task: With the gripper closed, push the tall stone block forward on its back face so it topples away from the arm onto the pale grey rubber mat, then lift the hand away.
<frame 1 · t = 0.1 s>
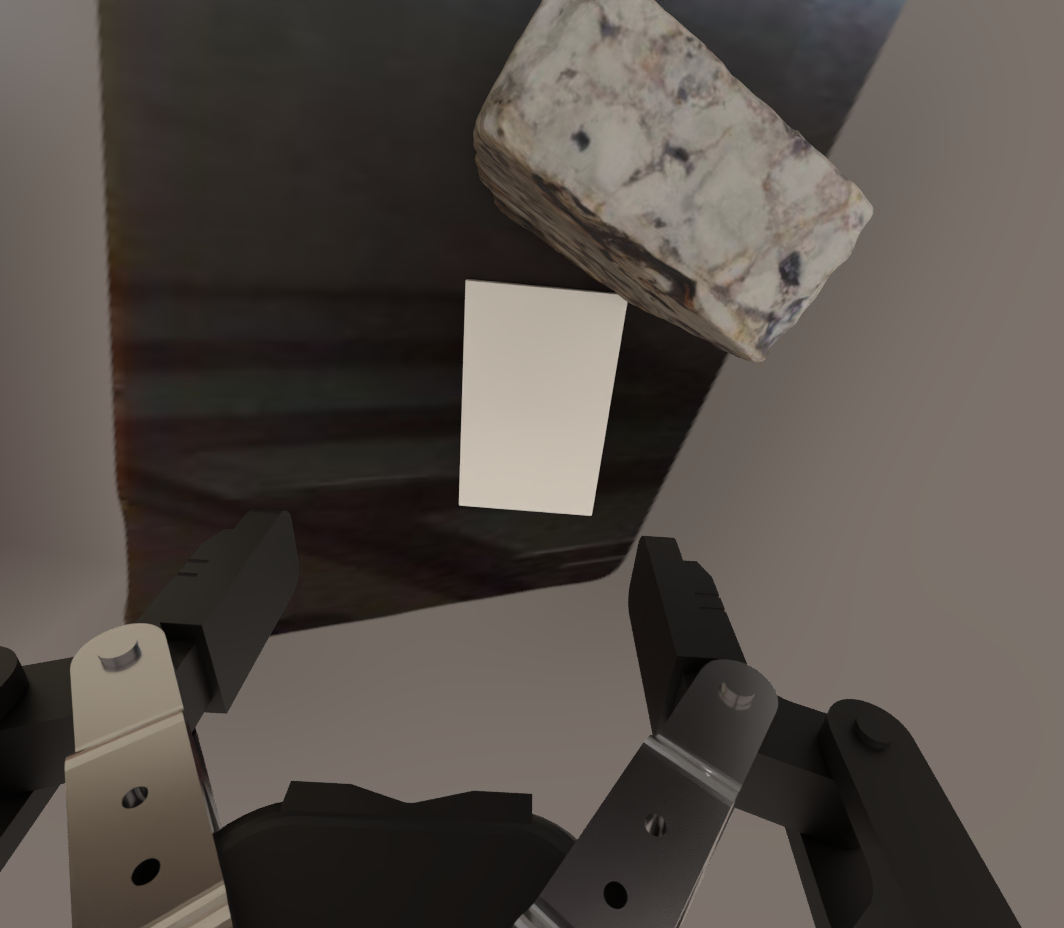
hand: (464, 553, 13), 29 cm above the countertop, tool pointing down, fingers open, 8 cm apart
stone block: (578, 217, 36), on the countertop
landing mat: (535, 407, 43), on the countertop
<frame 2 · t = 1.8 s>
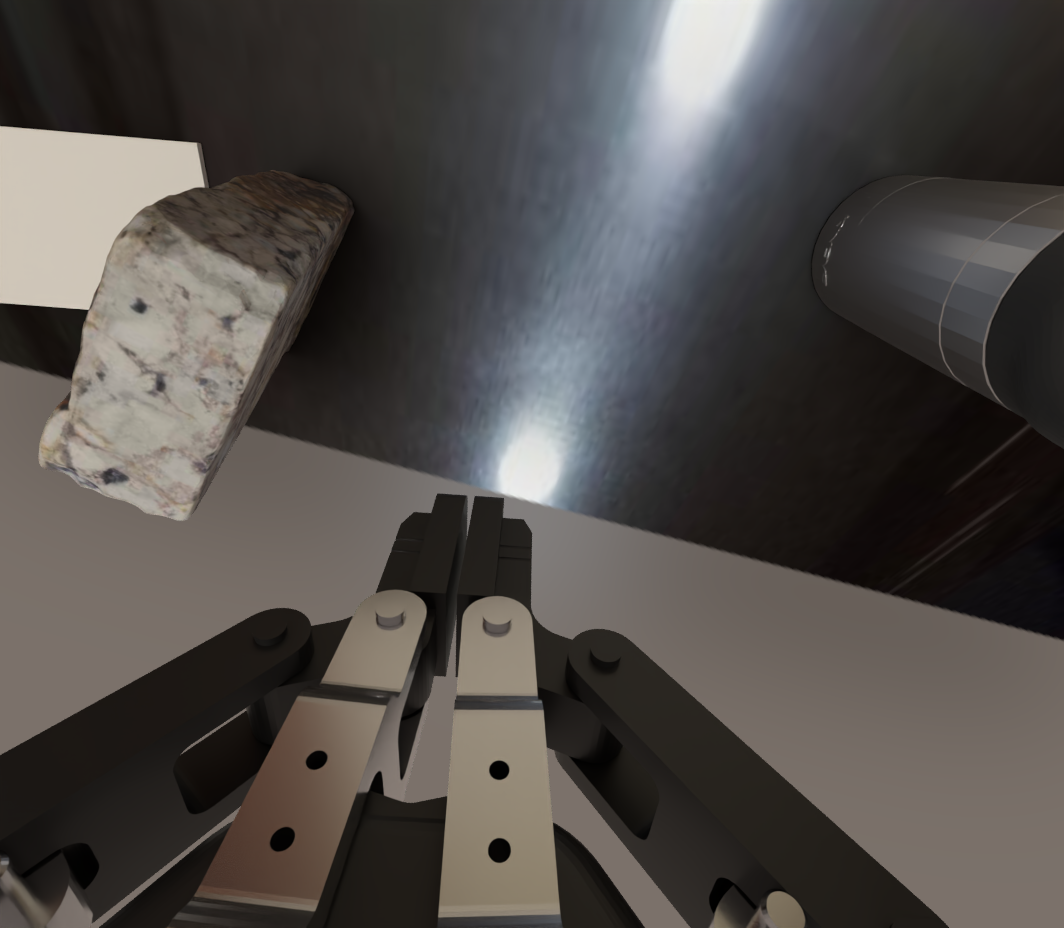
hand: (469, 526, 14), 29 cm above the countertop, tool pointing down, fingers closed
stone block: (287, 265, 39), on the countertop, touching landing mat
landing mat: (81, 226, 38), on the countertop
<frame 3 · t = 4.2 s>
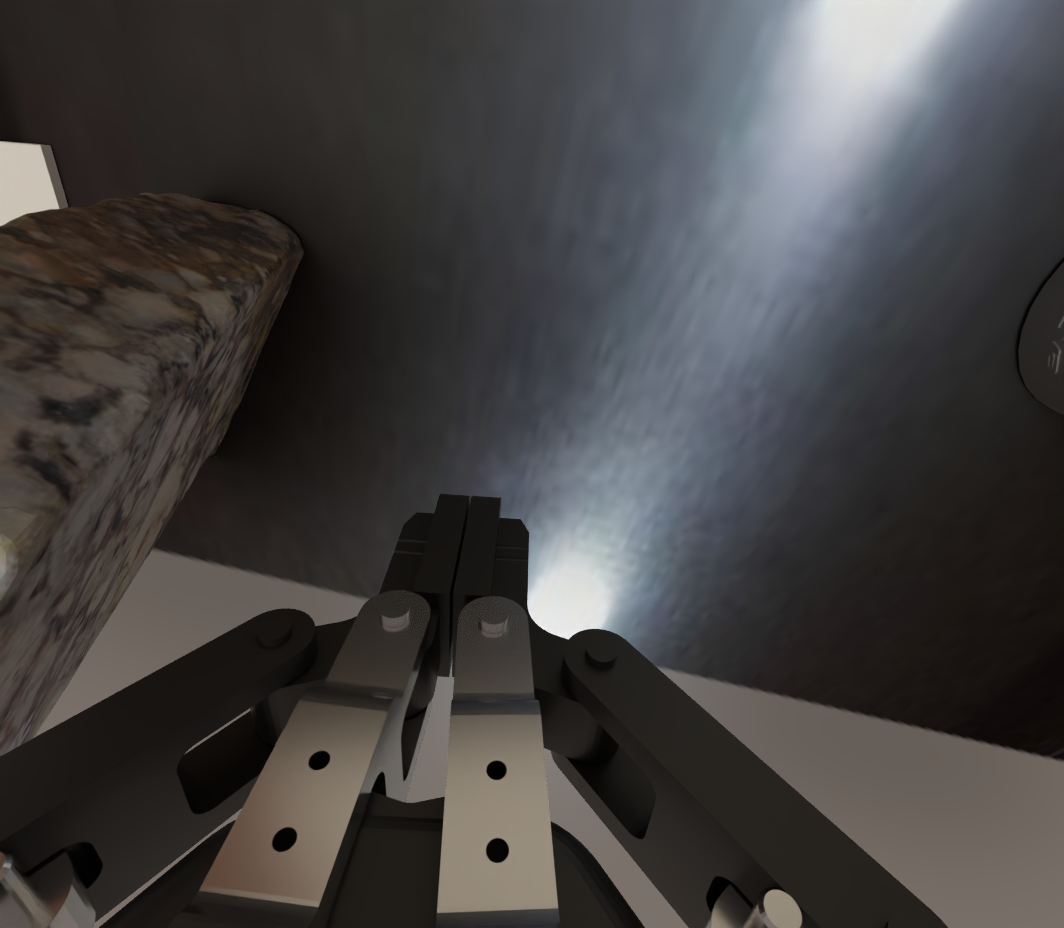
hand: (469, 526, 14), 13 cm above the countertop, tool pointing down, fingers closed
stone block: (204, 334, 25), on the countertop, touching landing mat
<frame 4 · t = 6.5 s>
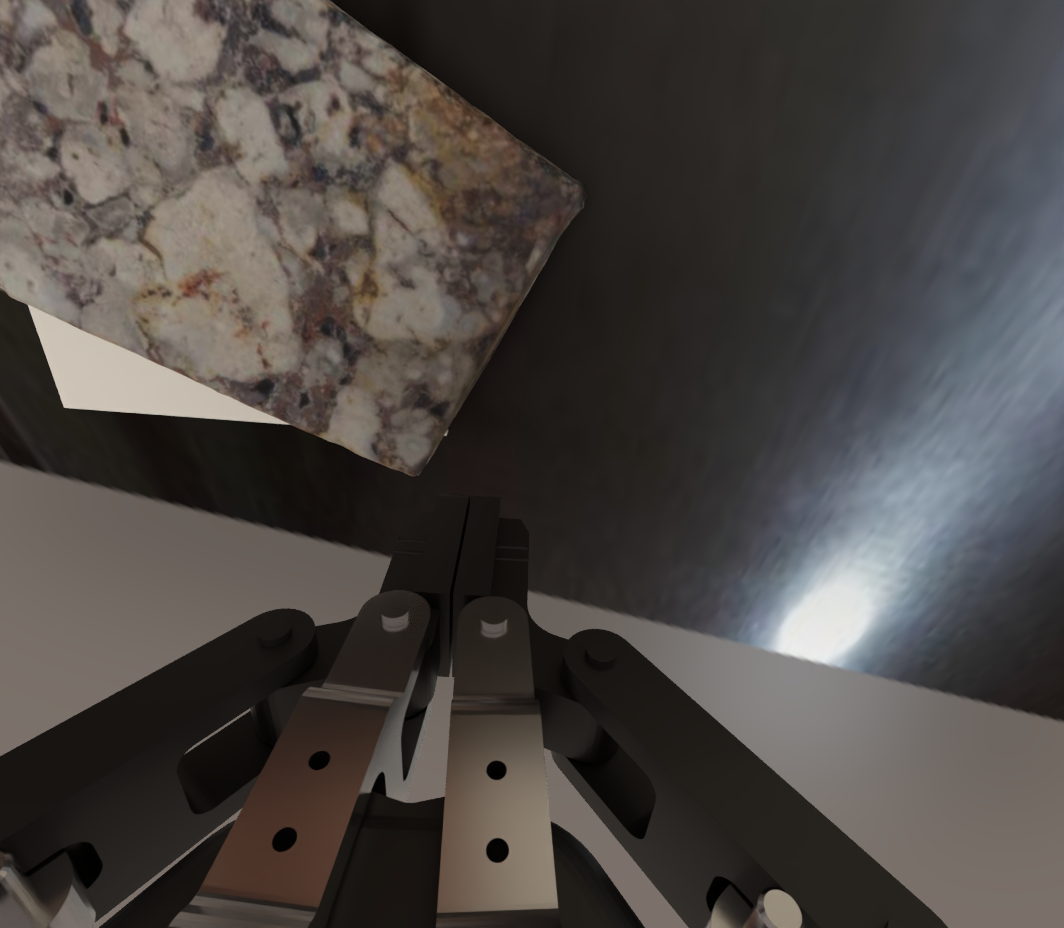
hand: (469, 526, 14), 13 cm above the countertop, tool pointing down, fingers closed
stone block: (498, 342, 23), point 3 cm above the countertop, touching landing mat
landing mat: (241, 302, 25), on the countertop
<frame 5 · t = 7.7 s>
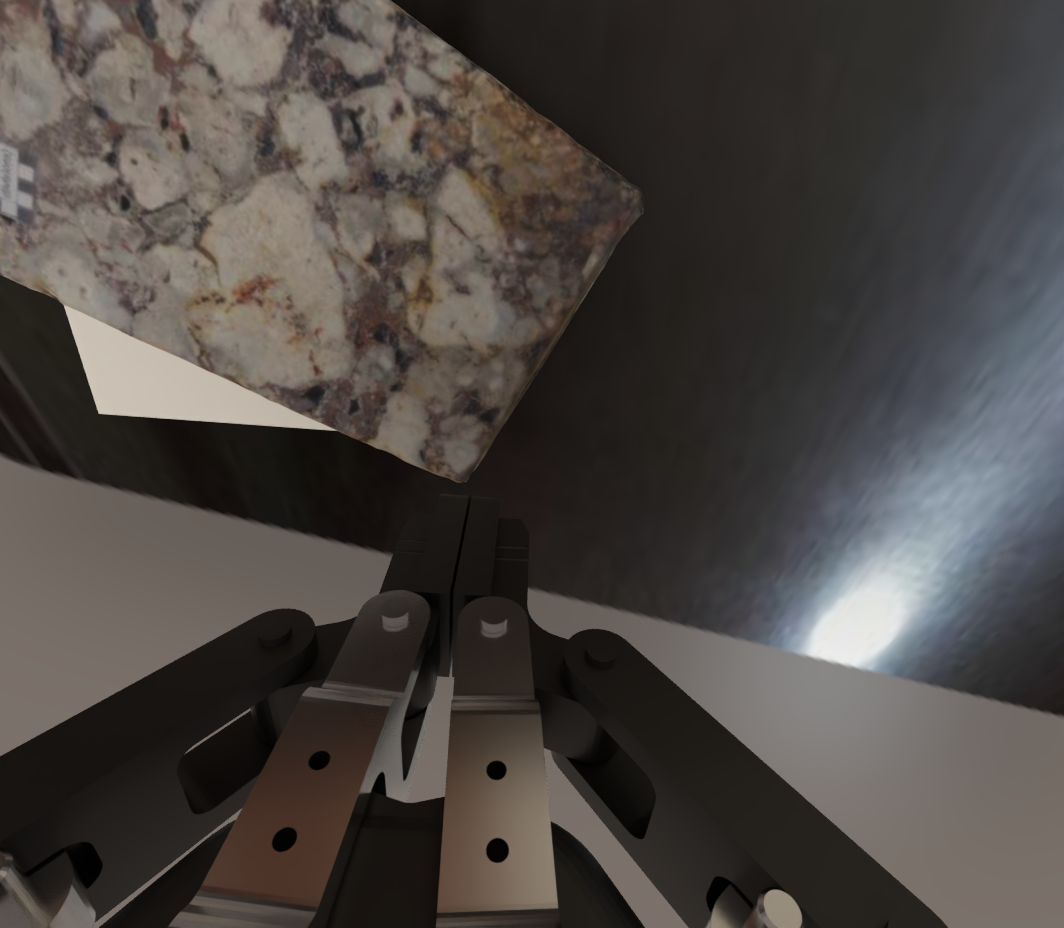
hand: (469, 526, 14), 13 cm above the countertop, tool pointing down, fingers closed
stone block: (545, 348, 22), point 3 cm above the countertop, touching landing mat
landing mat: (281, 307, 24), on the countertop
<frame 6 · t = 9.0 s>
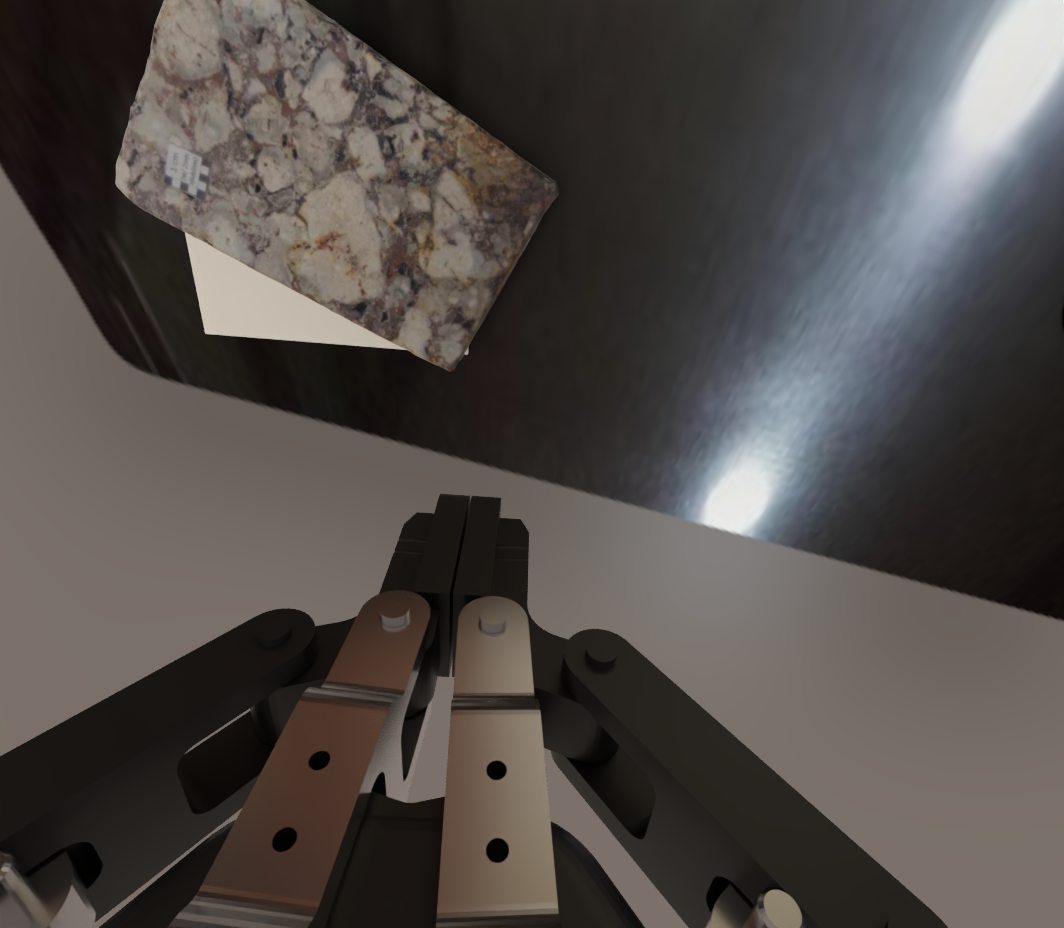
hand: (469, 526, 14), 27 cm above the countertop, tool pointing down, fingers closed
stone block: (505, 284, 35), point 3 cm above the countertop, touching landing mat
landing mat: (333, 260, 37), on the countertop
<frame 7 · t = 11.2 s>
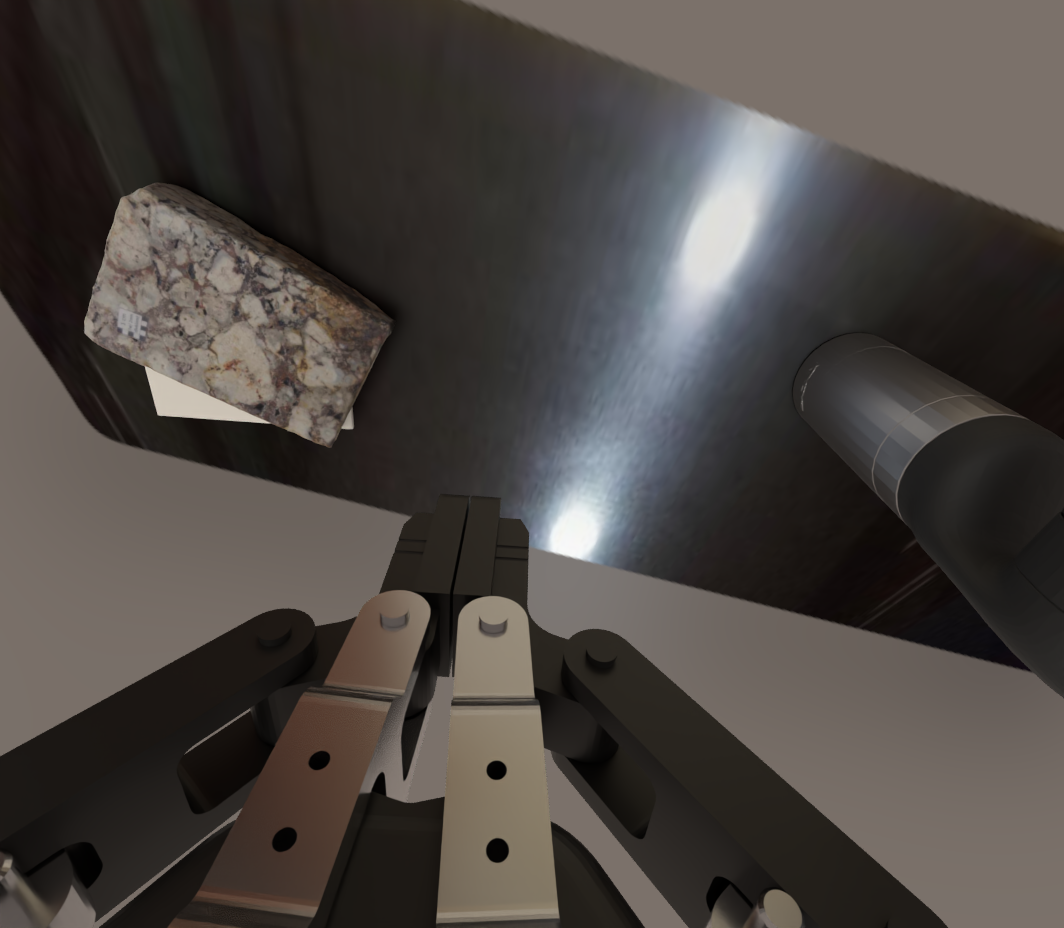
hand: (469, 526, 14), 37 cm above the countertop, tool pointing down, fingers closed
stone block: (368, 385, 49), point 3 cm above the countertop, touching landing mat
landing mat: (248, 364, 51), on the countertop
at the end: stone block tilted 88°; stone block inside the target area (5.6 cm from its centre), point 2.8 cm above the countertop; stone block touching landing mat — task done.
